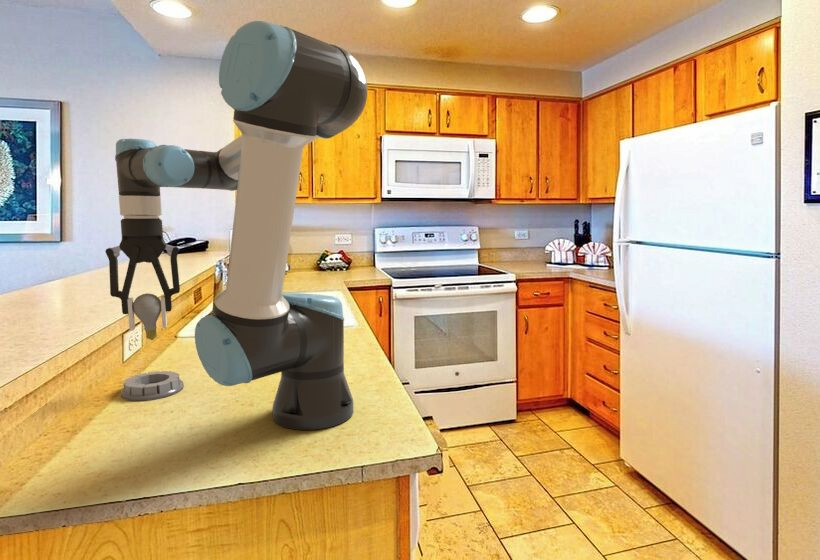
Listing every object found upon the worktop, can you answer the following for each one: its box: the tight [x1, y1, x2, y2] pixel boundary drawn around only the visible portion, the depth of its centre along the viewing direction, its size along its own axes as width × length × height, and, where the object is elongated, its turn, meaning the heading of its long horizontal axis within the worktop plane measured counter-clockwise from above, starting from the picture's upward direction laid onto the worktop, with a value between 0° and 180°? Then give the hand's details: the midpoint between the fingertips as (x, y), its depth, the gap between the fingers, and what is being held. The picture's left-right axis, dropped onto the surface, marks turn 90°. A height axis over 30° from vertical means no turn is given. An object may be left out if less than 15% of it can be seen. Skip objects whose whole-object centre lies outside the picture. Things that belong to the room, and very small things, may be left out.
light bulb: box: [133, 293, 162, 341], centre depth 105 cm, size 5×6×10 cm
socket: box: [120, 370, 184, 402], centre depth 106 cm, size 12×12×3 cm
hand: (148, 327), depth 105 cm, fingers closed on light bulb, 5 cm apart
